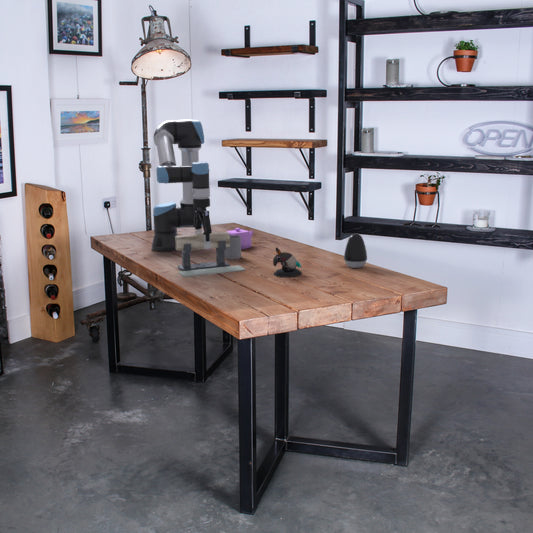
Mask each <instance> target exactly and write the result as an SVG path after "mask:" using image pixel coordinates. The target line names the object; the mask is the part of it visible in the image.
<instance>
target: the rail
mask: <svg viewBox="0 0 533 533" xmlns="http://www.w3.org/2000/svg"><path fill="white" fill-rule="evenodd" d="M219 241H226V247H229V246H230V233H228V232H226V231H225V232H222V231H220V232H212V233H210V247H211V248H210V249H216V248H219ZM175 242H176V250H175V251H177V252H182V251H184V244H191V251H194V250H205V249H204V235H203V233H202V234H196V233H195V234H186V235H178V236H175Z"/></svg>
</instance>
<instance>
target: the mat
mask: <svg viewBox="0 0 533 533" xmlns="http://www.w3.org/2000/svg"><path fill="white" fill-rule="evenodd" d="M242 271H243V272H245V271H246V268H244V267H243V266H241V265H230V266H227V267H218V268H208V269H198V270H189V271H181V270H179V271H178V274H179V275H180V276H182V277H183V278H187V277H196V276H206V275H213V274H224V273H232V272H242Z"/></svg>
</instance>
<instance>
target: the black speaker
mask: <svg viewBox="0 0 533 533" xmlns="http://www.w3.org/2000/svg"><path fill="white" fill-rule="evenodd" d="M346 242H347V243H346V246H345V250H344V253H343V260H344V263H345V265H346V266H347V267H348V268H352V269H361V268H363V267H364V266H365V265H366V263H367V261H368V253H367V248H366V244H365V241H364V238H363V236H362V235H361V234H360V233H353V234H351V235H350V236H349V238H348V240H347V241H346Z"/></svg>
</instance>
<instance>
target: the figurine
mask: <svg viewBox="0 0 533 533" xmlns="http://www.w3.org/2000/svg"><path fill="white" fill-rule="evenodd" d="M275 252H276V253H277V254H275V256H273V260H272V264H273V266H274V267H276V266H277V264H280V265H281V268H279V269H276V270H275V271H274V272H273V276H275V277H279V278H293V277H298V276H300V275H301V274H302V271H301V270H299V269H298V268H302V265H301V263H300V262H299V261H298V260H297V258H296V257H295V256H294V254H292V253H290V252H287V251H284V252H283V251H281V250H280V249H279V248H278V247H277V246H276V247H275Z"/></svg>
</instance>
